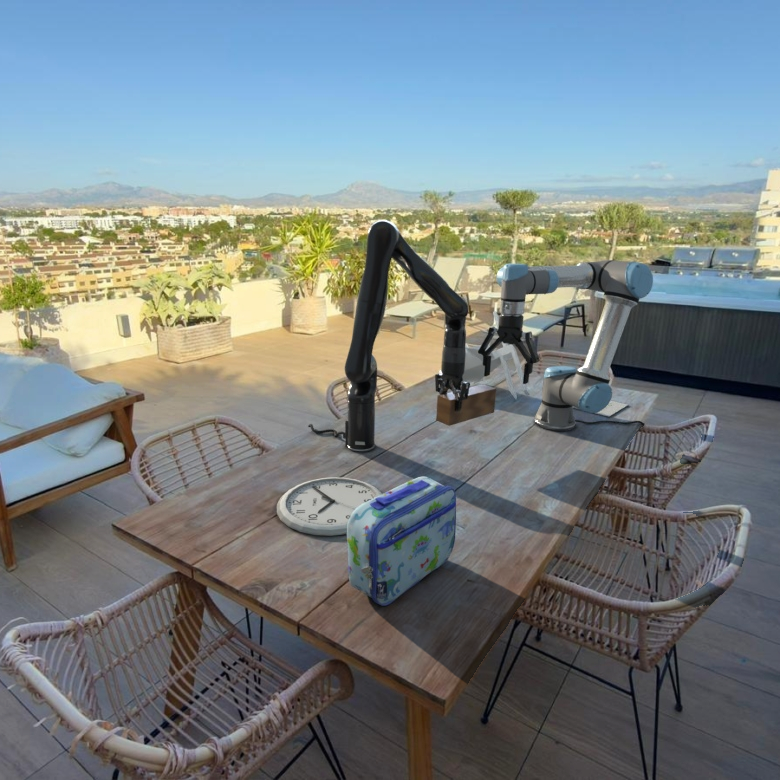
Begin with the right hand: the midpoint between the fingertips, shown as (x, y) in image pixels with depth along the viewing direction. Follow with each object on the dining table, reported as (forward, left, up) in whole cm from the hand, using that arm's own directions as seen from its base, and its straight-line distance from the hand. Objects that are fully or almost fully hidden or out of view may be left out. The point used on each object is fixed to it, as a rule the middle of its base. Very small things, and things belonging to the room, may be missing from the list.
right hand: (505, 379), depth 170 cm
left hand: (+17, +2, -10) cm, 20 cm away
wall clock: (+48, +43, -26) cm, 70 cm away
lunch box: (+26, +71, -26) cm, 80 cm away
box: (+12, -4, -15) cm, 20 cm away
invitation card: (-48, -56, -26) cm, 78 cm away
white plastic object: (+4, -68, -26) cm, 73 cm away
